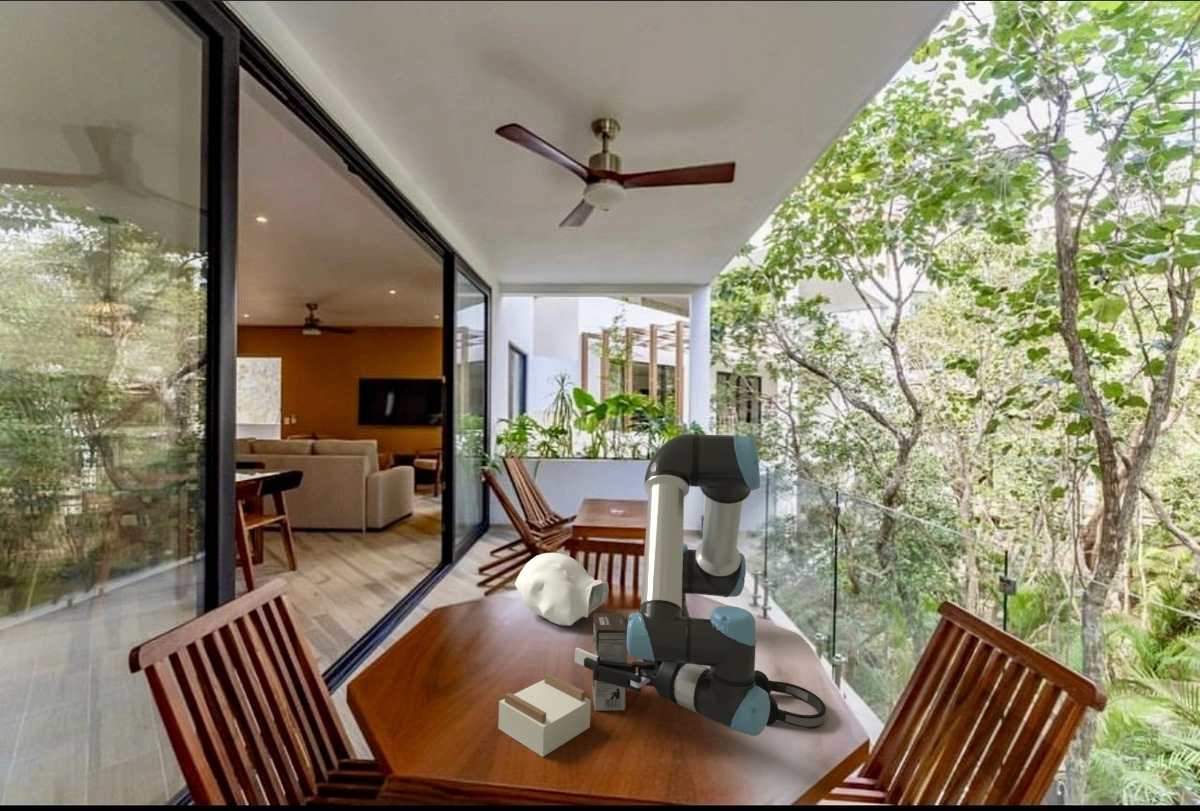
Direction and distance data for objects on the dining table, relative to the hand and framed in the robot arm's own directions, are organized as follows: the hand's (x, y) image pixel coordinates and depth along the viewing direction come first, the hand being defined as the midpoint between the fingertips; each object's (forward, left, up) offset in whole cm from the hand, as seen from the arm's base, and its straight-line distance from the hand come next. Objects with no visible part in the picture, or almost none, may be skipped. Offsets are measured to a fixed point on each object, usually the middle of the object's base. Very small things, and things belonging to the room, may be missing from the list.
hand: (594, 646), depth 114 cm
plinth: (+16, +2, -10) cm, 19 cm away
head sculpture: (-24, -35, -10) cm, 43 cm away
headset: (-21, +31, -10) cm, 39 cm away
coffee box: (0, +4, -10) cm, 11 cm away
